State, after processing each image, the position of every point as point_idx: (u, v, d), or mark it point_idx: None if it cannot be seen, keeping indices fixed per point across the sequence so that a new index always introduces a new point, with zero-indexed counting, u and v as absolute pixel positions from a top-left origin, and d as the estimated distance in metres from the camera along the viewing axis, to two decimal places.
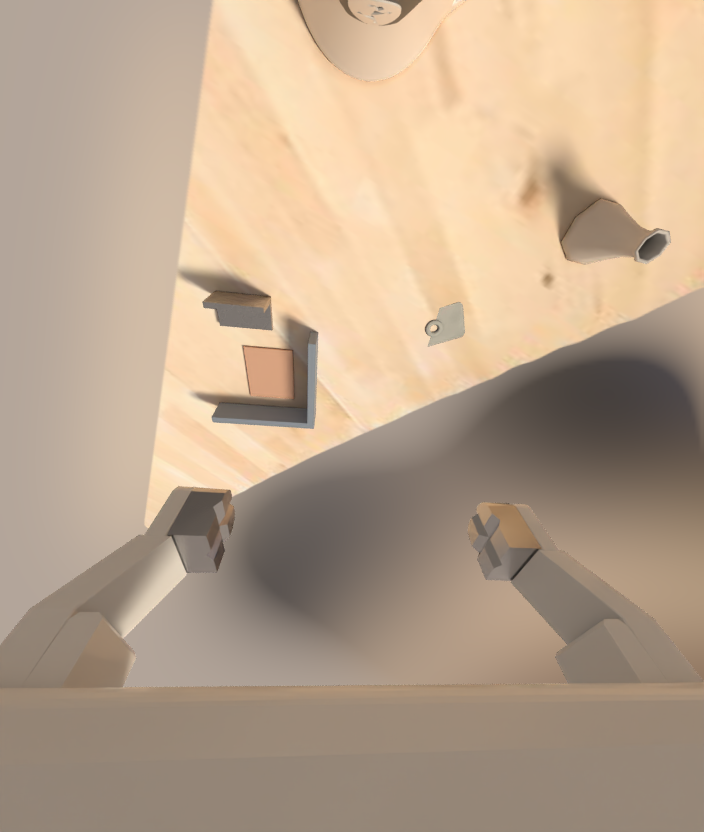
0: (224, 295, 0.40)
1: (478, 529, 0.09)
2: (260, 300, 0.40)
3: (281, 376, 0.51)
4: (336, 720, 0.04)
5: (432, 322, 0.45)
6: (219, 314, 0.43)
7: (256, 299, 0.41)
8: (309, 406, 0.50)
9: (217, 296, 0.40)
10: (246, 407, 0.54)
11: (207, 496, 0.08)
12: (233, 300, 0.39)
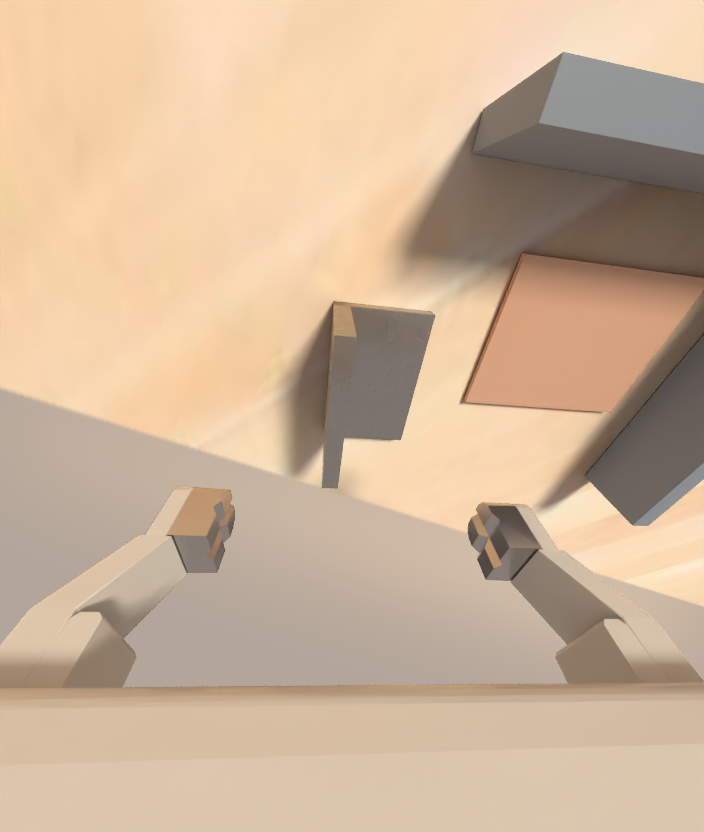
0: (325, 421, 0.16)
1: (478, 529, 0.09)
2: None
3: (600, 312, 0.15)
4: (336, 720, 0.04)
5: None
6: (374, 435, 0.18)
7: None
8: None
9: (324, 439, 0.16)
10: (641, 431, 0.19)
11: (207, 496, 0.08)
12: None
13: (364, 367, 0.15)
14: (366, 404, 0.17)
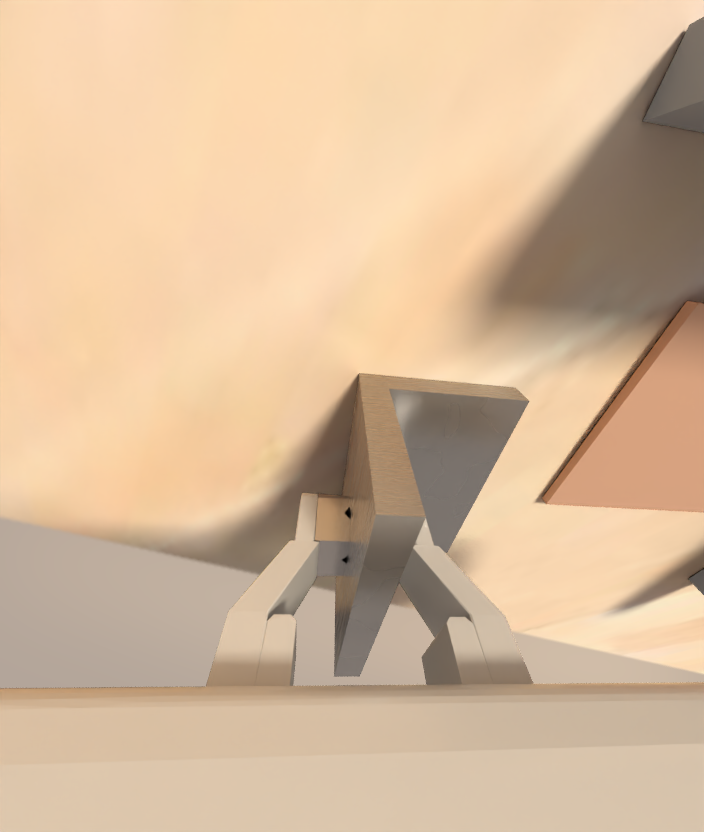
0: None
1: None
2: (358, 448, 0.07)
3: None
4: (336, 720, 0.04)
5: None
6: None
7: (355, 460, 0.08)
8: None
9: None
10: None
11: (334, 502, 0.08)
12: None
13: None
14: None
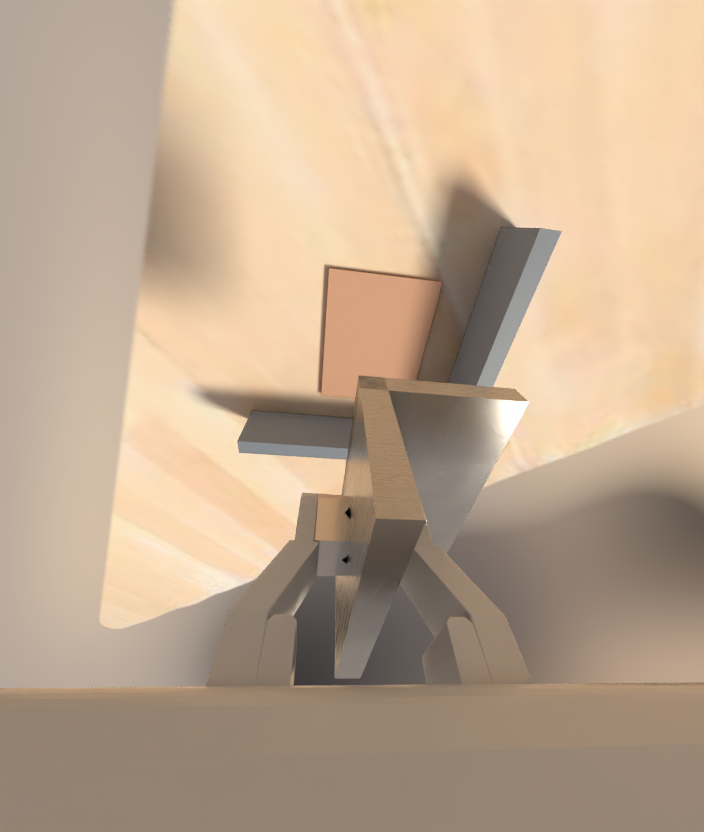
0: None
1: None
2: (358, 450, 0.07)
3: (398, 349, 0.23)
4: (336, 720, 0.04)
5: None
6: None
7: (355, 462, 0.08)
8: None
9: None
10: (309, 420, 0.26)
11: (334, 502, 0.08)
12: None
13: None
14: None
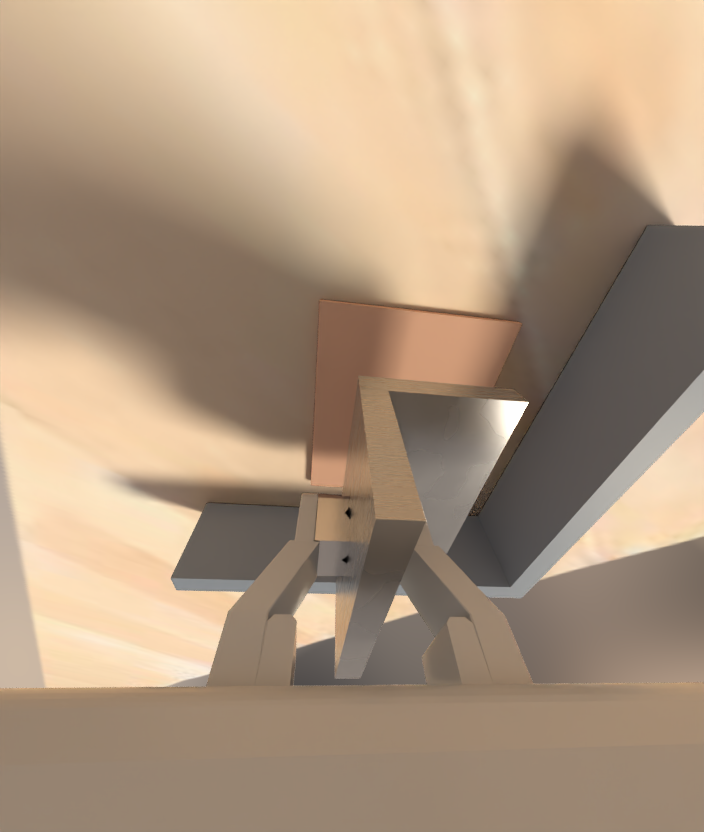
0: None
1: None
2: (358, 451, 0.07)
3: None
4: (336, 720, 0.04)
5: None
6: None
7: (355, 462, 0.08)
8: (556, 543, 0.13)
9: None
10: (292, 520, 0.17)
11: (334, 502, 0.08)
12: None
13: None
14: None
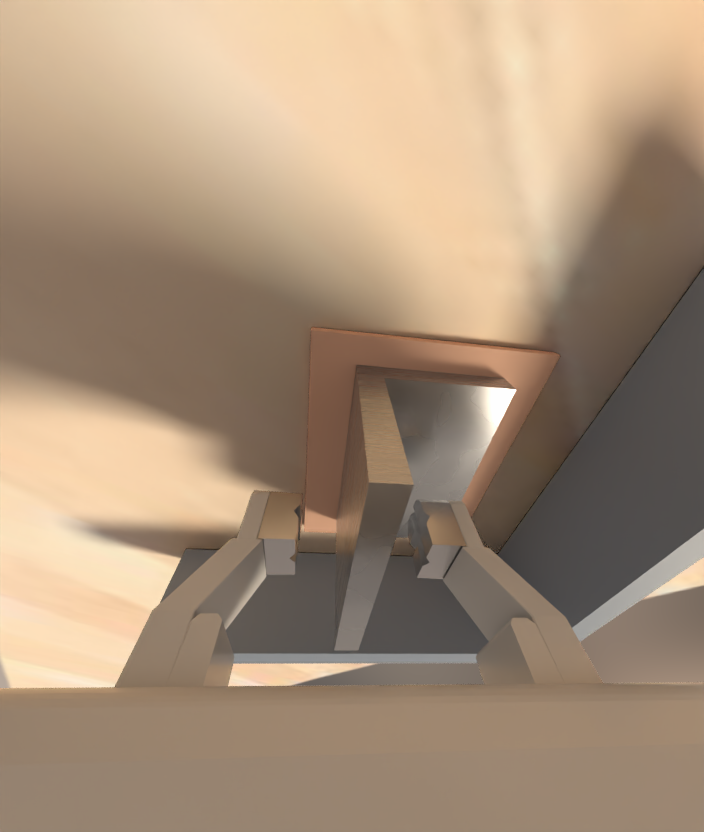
0: (339, 528, 0.11)
1: (414, 526, 0.09)
2: (355, 432, 0.08)
3: None
4: (336, 720, 0.04)
5: None
6: (406, 534, 0.13)
7: (352, 444, 0.08)
8: (597, 614, 0.11)
9: (337, 556, 0.11)
10: None
11: (285, 500, 0.08)
12: (344, 542, 0.09)
13: None
14: None
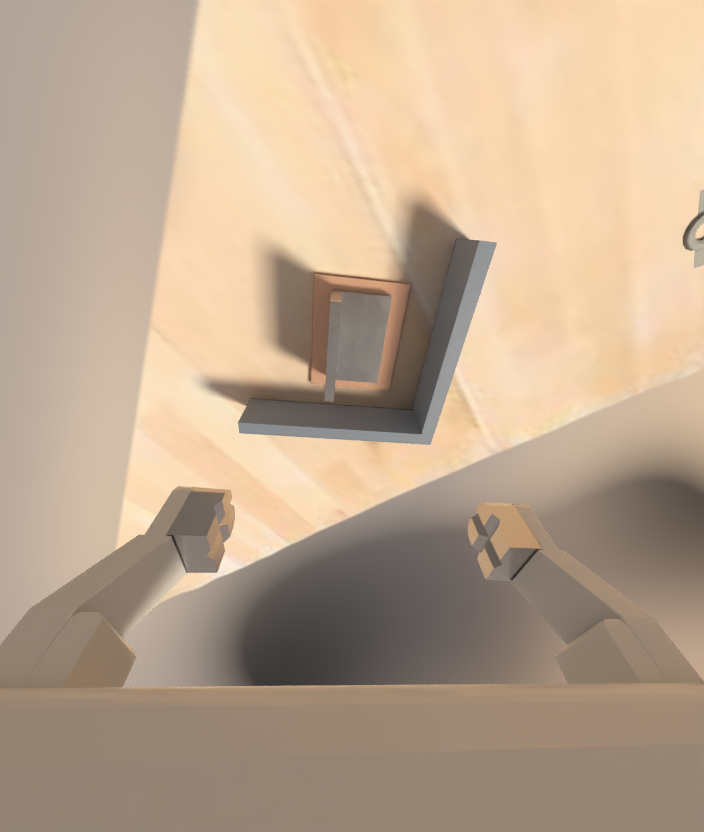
0: None
1: (478, 529, 0.09)
2: None
3: None
4: (336, 720, 0.04)
5: None
6: (359, 379, 0.28)
7: None
8: (436, 398, 0.25)
9: None
10: (300, 406, 0.29)
11: (207, 496, 0.08)
12: None
13: (350, 330, 0.25)
14: (353, 356, 0.26)
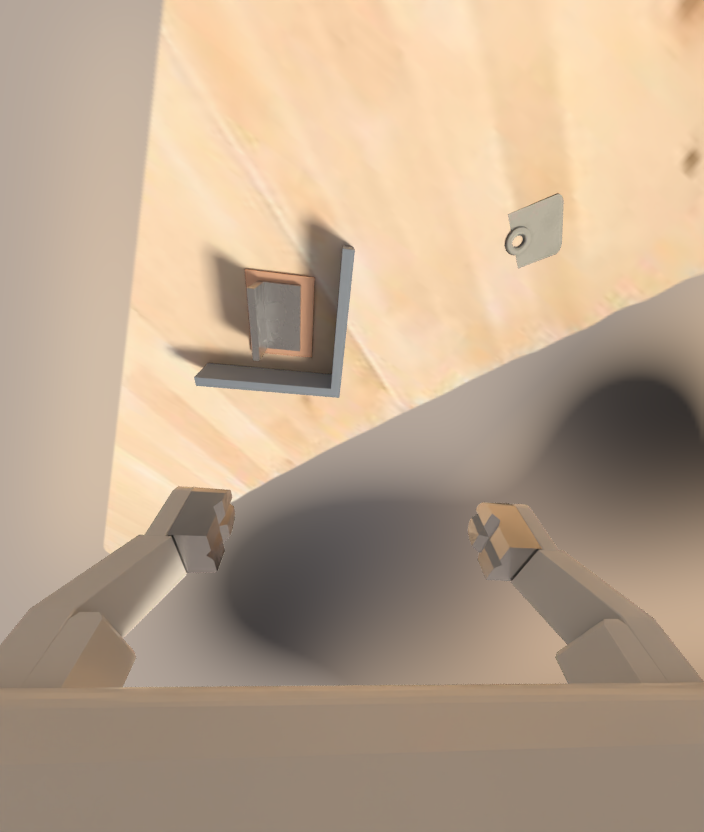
0: None
1: (478, 529, 0.09)
2: None
3: None
4: (336, 720, 0.04)
5: (517, 230, 0.31)
6: (286, 348, 0.37)
7: None
8: (336, 360, 0.35)
9: None
10: (245, 369, 0.39)
11: (207, 496, 0.08)
12: None
13: (274, 310, 0.35)
14: (278, 330, 0.36)
